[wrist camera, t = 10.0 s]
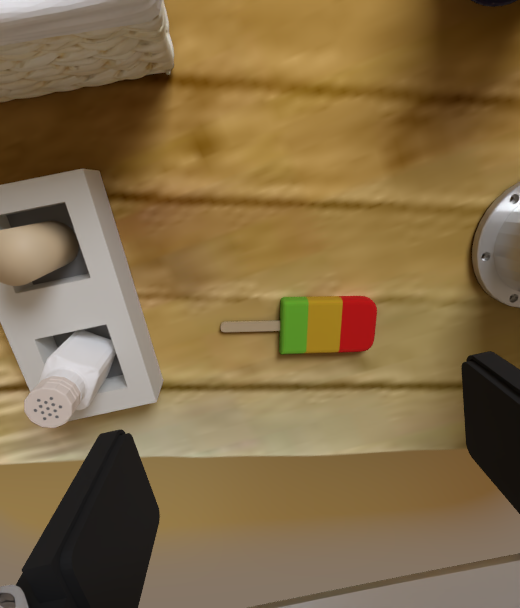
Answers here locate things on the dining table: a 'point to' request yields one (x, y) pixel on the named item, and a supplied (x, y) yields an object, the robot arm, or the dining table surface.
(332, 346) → the popsicle
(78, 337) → the pepper shaker
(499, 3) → the storage jar
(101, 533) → the robot arm
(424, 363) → the dining table surface
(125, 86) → the dining table surface
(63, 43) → the storage basket
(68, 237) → the block
